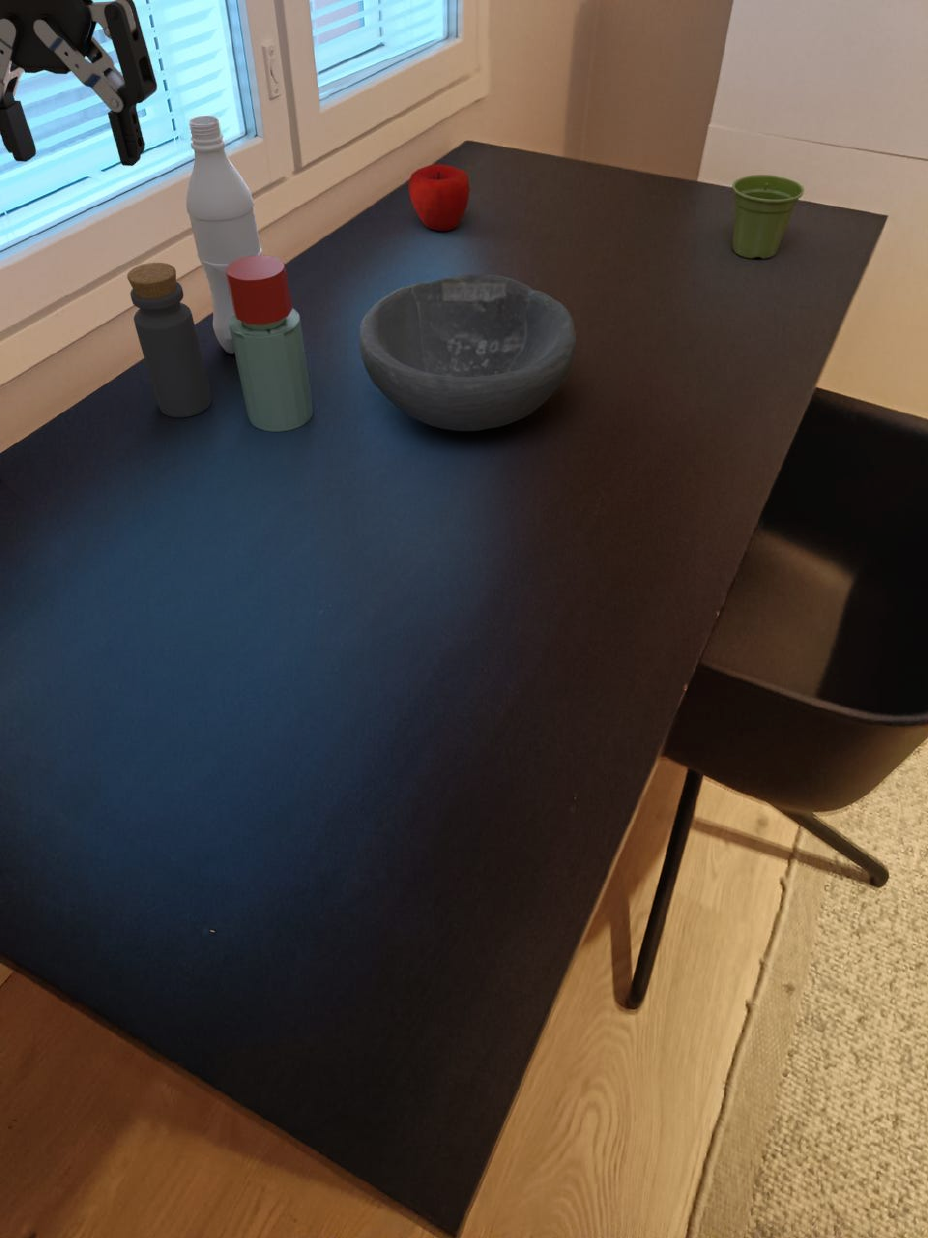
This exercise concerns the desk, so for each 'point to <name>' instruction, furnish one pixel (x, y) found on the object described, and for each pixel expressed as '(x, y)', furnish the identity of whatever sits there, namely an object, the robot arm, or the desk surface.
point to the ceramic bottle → (273, 372)
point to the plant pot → (762, 213)
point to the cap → (259, 289)
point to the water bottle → (219, 218)
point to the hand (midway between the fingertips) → (78, 160)
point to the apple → (439, 195)
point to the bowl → (467, 350)
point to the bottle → (169, 341)
